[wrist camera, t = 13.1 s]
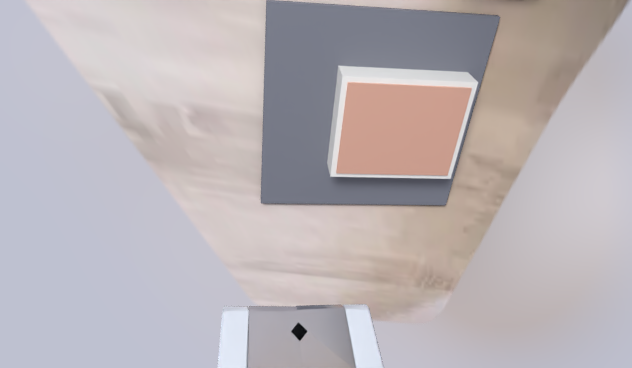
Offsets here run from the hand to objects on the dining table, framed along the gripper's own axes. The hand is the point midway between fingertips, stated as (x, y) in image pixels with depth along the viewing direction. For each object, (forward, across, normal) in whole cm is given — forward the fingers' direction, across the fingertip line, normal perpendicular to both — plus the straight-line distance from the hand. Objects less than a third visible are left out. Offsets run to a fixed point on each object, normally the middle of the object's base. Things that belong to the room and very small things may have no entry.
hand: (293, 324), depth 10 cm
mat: (+34, -10, +11) cm, 37 cm away
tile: (+32, -6, +11) cm, 35 cm away
